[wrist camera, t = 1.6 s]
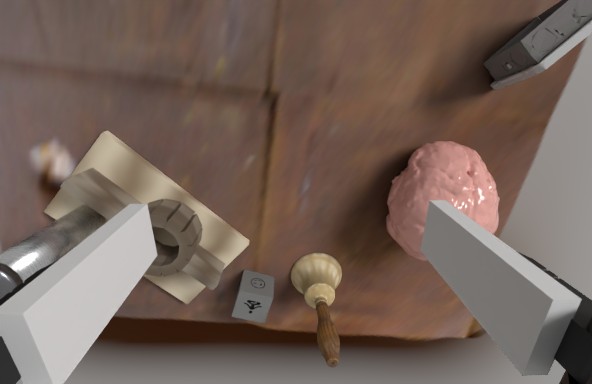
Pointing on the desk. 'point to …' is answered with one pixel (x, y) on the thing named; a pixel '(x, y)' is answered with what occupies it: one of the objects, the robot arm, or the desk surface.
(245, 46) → the desk surface
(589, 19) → the electrical switch
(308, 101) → the desk surface
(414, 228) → the brain
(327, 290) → the hand bell
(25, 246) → the pin
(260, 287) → the dice cube
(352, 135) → the desk surface
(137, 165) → the hinge board
